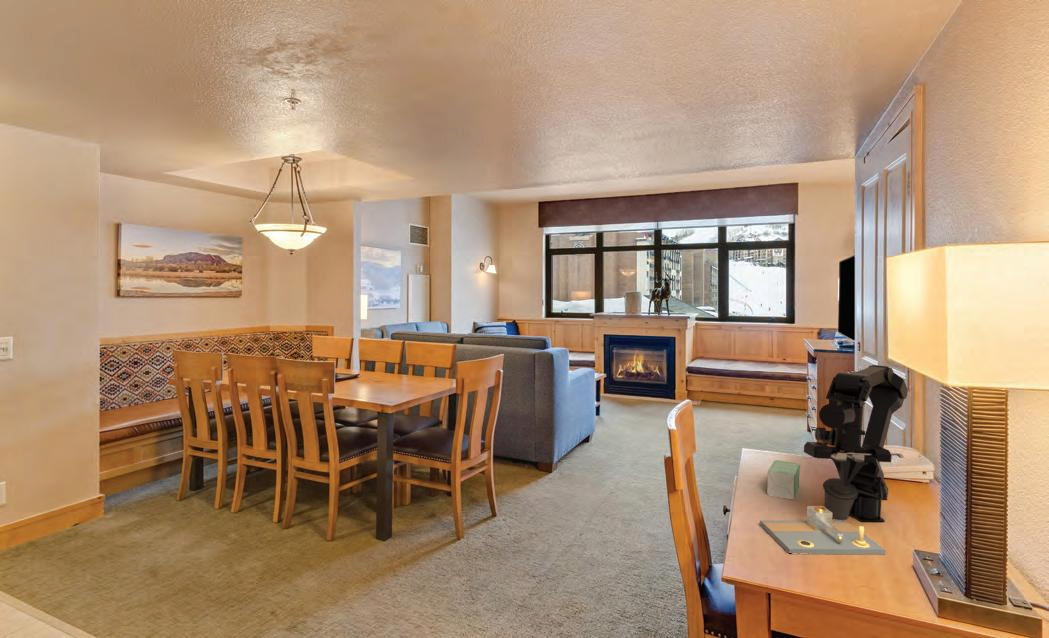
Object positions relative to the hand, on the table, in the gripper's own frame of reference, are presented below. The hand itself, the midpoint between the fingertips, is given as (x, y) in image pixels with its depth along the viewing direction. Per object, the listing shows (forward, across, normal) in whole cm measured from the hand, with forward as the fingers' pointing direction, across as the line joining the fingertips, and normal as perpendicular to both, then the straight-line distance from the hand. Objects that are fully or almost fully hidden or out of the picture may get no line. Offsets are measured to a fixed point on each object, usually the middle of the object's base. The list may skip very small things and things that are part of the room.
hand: (844, 485), depth 132 cm
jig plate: (+12, +8, +4) cm, 15 cm away
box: (+11, +2, -27) cm, 30 cm away
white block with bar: (+11, +6, +4) cm, 13 cm away
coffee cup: (+11, -4, -10) cm, 16 cm away
